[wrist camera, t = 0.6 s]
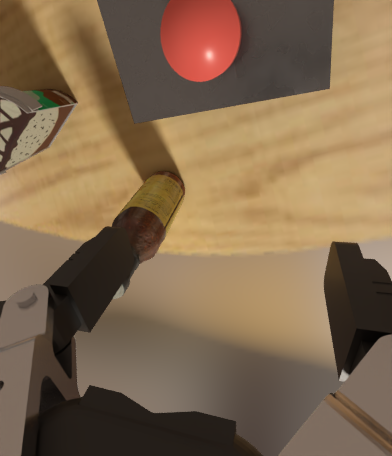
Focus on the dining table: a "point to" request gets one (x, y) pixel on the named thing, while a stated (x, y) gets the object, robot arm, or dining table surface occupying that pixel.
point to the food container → (30, 122)
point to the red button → (200, 37)
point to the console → (238, 71)
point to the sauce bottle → (150, 217)
